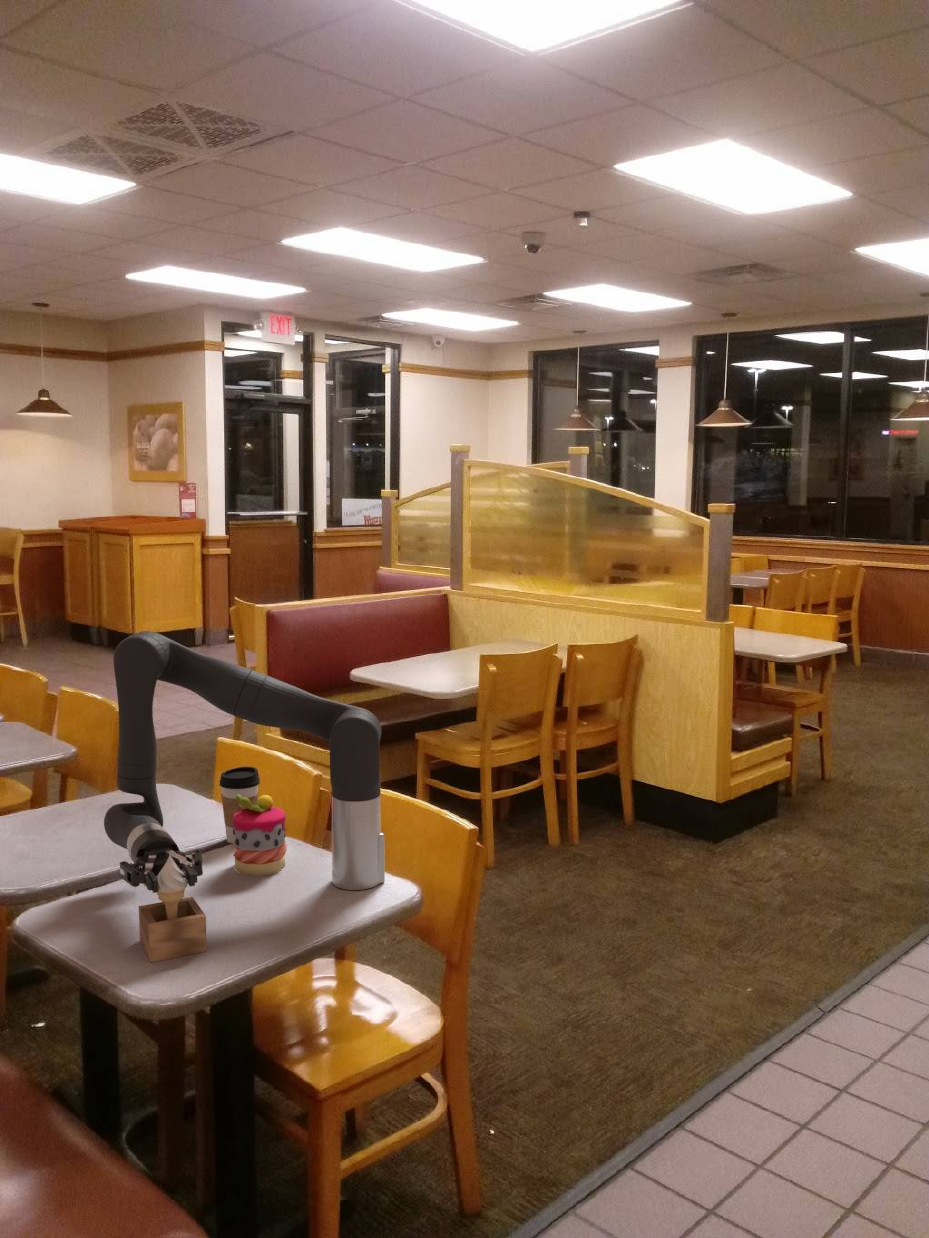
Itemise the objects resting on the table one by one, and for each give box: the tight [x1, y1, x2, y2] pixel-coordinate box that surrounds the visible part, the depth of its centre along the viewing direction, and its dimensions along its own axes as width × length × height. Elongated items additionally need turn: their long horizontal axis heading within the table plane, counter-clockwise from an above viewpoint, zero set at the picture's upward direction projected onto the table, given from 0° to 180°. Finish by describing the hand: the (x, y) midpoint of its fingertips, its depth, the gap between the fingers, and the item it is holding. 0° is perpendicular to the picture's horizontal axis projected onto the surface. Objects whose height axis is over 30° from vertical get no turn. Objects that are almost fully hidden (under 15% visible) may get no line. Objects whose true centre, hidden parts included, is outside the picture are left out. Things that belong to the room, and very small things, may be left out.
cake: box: [232, 794, 288, 877], centre depth 206 cm, size 10×11×15 cm
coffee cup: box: [218, 766, 261, 845], centre depth 221 cm, size 8×8×15 cm
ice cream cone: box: [156, 856, 189, 920], centre depth 171 cm, size 6×6×15 cm
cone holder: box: [138, 896, 208, 963], centre depth 171 cm, size 9×9×6 cm
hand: (174, 883), depth 168 cm, fingers closed on ice cream cone, 5 cm apart
